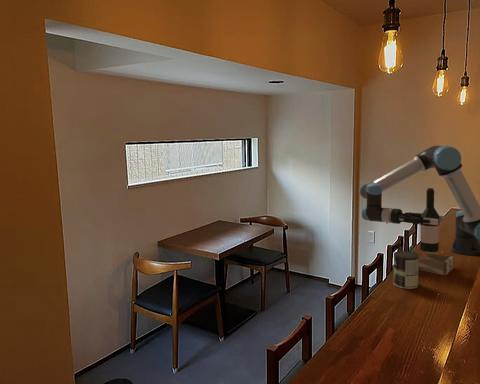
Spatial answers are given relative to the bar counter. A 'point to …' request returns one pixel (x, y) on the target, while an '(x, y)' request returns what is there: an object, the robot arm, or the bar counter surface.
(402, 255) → the coffee can
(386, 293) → the bar counter surface
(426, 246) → the wine bottle
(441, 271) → the u rest
